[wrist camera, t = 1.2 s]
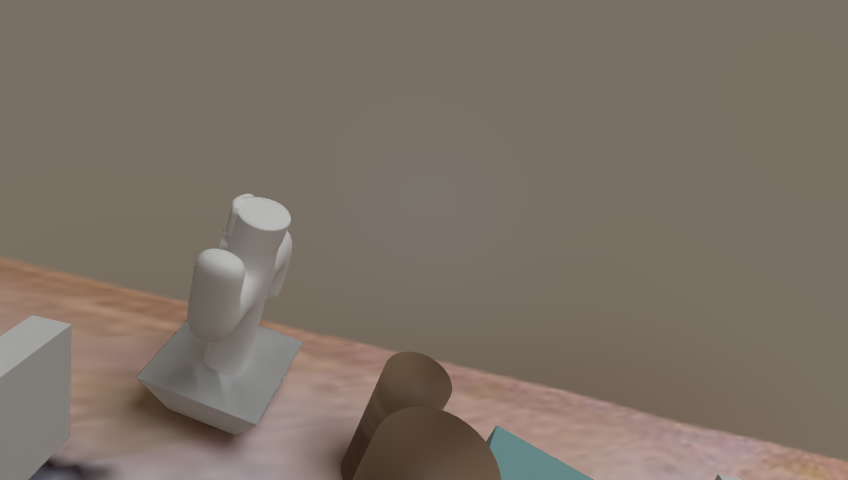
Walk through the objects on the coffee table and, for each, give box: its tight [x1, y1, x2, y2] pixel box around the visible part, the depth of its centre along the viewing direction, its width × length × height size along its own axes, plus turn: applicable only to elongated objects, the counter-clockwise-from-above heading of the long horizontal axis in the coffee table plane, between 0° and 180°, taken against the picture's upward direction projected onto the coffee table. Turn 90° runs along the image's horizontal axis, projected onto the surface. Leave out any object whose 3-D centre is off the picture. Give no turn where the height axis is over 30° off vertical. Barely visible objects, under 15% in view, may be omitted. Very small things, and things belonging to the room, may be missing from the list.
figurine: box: [136, 194, 303, 435], centre depth 32 cm, size 7×9×15 cm
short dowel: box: [341, 352, 452, 480], centre depth 33 cm, size 4×4×9 cm
